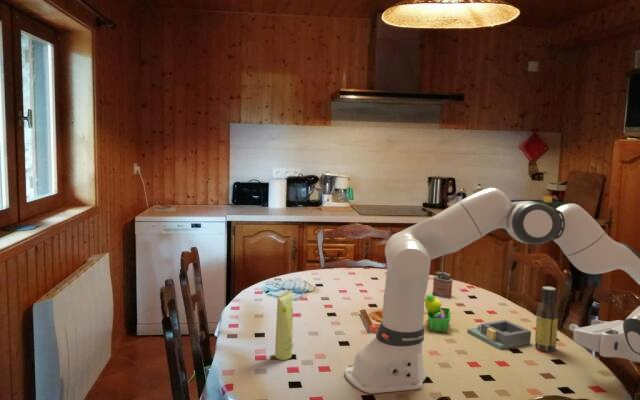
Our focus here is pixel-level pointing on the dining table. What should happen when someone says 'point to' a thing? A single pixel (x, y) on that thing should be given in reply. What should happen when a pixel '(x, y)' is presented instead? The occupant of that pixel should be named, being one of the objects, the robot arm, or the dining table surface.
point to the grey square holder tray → (495, 343)
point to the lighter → (442, 285)
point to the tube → (284, 327)
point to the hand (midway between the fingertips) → (581, 324)
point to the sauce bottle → (546, 321)
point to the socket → (495, 333)
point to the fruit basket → (437, 314)
